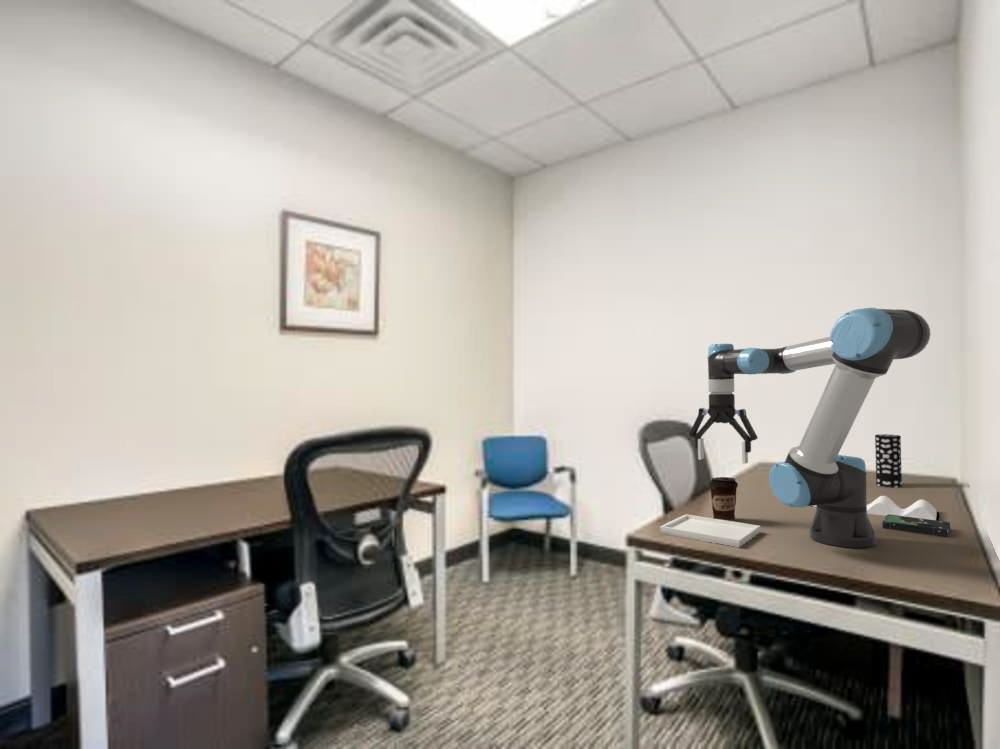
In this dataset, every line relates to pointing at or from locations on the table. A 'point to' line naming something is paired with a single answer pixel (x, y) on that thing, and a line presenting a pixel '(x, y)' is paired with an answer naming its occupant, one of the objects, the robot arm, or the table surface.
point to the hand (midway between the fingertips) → (722, 461)
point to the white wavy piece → (915, 510)
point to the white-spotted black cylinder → (888, 460)
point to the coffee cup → (723, 497)
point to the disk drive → (916, 525)
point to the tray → (711, 530)
